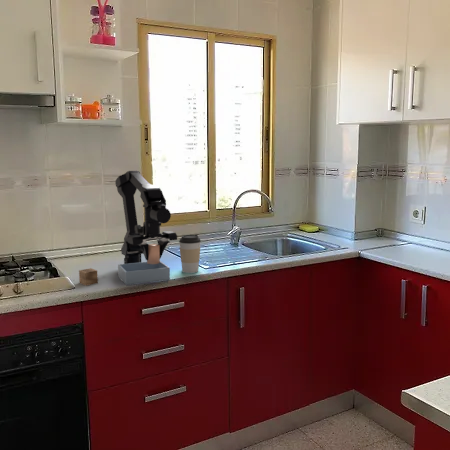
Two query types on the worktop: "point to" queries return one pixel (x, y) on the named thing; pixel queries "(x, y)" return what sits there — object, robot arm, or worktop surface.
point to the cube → (88, 276)
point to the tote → (143, 272)
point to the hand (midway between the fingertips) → (153, 259)
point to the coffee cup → (190, 253)
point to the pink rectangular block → (153, 254)
